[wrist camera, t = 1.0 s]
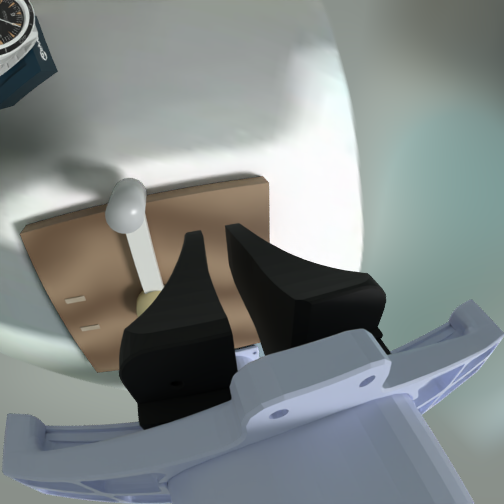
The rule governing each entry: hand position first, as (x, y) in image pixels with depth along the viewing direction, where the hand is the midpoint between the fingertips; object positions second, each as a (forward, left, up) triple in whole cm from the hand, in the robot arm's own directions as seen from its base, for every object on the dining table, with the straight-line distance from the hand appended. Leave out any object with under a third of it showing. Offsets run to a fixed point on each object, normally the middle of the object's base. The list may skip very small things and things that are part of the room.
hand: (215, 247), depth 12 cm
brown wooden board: (-10, +4, -10) cm, 15 cm away
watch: (+12, +12, -11) cm, 20 cm away
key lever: (-5, +5, -9) cm, 11 cm away
